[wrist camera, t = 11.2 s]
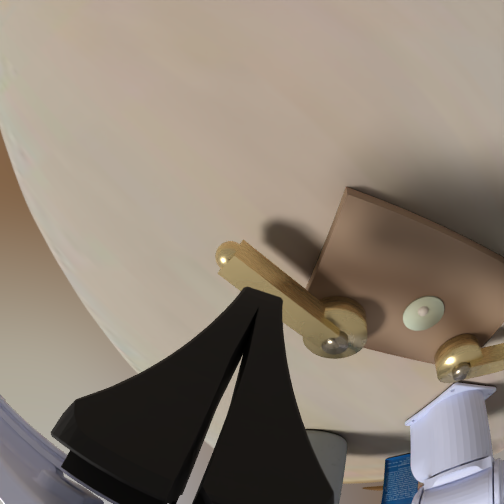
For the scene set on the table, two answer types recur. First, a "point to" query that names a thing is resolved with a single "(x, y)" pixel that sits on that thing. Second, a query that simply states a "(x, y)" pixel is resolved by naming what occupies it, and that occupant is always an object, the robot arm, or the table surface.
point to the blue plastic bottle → (399, 481)
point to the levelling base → (409, 278)
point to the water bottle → (330, 457)
